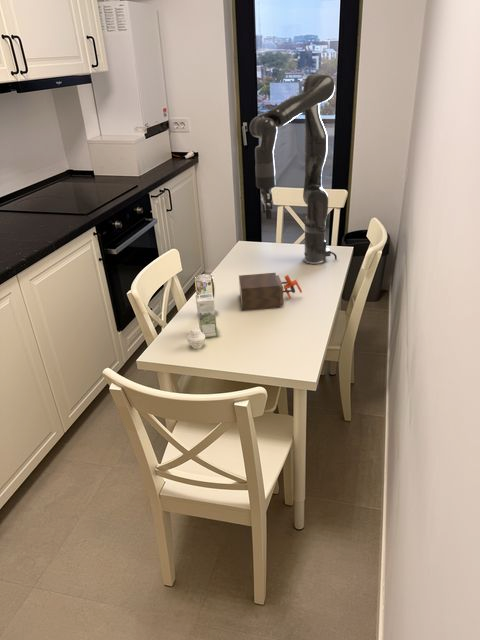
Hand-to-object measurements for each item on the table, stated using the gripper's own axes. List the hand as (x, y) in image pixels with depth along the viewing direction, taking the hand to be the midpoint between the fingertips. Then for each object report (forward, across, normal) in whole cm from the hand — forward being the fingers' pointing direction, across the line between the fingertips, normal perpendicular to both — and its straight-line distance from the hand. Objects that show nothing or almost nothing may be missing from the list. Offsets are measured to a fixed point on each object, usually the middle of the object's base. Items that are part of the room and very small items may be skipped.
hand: (267, 215), depth 200 cm
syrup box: (+27, -43, +28) cm, 58 cm away
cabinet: (+27, -22, +7) cm, 35 cm away
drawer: (+26, -22, +3) cm, 34 cm away
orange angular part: (+25, -22, -7) cm, 34 cm away
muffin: (+27, -51, +32) cm, 66 cm away
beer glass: (+27, -28, +28) cm, 48 cm away
